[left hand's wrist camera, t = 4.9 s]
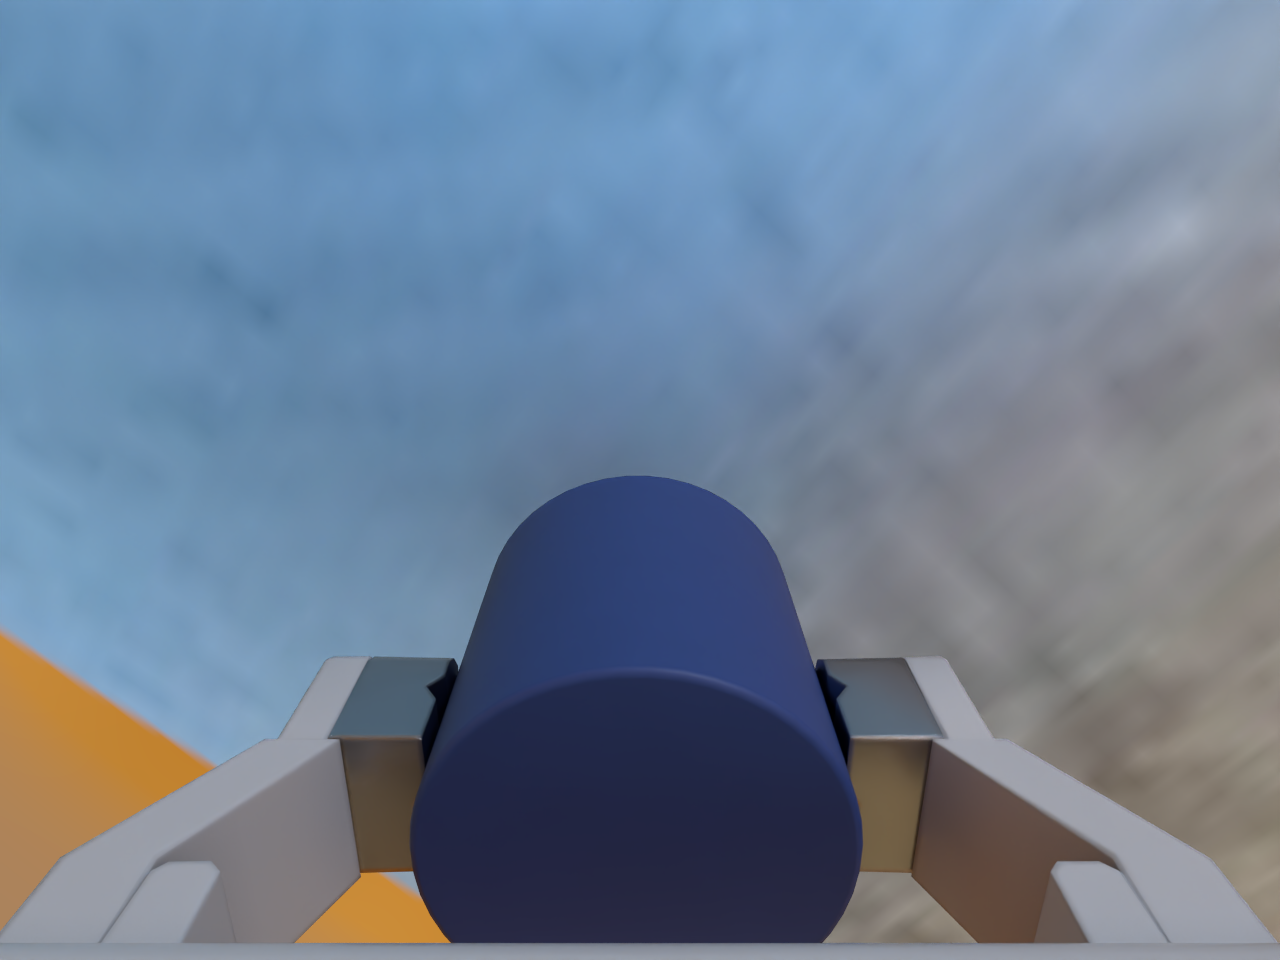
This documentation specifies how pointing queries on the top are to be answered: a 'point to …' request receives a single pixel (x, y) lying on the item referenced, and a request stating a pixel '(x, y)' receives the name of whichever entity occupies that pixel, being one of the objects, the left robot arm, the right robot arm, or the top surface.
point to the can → (636, 739)
